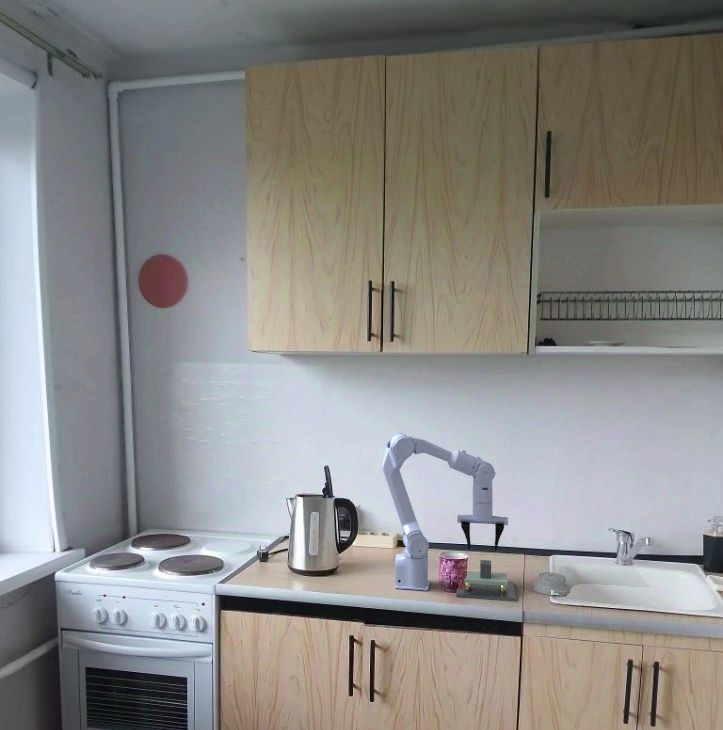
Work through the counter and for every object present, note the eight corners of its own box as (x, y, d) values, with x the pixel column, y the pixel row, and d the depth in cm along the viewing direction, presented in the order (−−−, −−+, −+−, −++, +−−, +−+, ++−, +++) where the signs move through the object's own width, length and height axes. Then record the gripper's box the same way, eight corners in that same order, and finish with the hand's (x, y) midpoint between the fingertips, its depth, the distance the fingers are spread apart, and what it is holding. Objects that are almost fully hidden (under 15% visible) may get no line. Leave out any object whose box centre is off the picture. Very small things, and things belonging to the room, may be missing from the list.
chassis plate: (456, 597, 169) (456, 586, 169) (458, 580, 183) (458, 571, 183) (516, 601, 166) (516, 590, 166) (513, 584, 180) (513, 574, 180)
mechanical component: (575, 590, 176) (542, 582, 182) (575, 574, 176) (542, 567, 183) (562, 599, 168) (528, 591, 175) (562, 583, 169) (528, 576, 175)
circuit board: (463, 583, 173) (464, 565, 173) (464, 574, 180) (464, 556, 181) (507, 586, 170) (507, 567, 170) (506, 576, 178) (506, 559, 178)
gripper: (507, 500, 183) (507, 546, 183) (458, 498, 186) (458, 543, 186) (508, 505, 176) (508, 552, 176) (457, 502, 179) (456, 549, 179)
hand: (482, 548), depth 180 cm, fingers open, 7 cm apart
